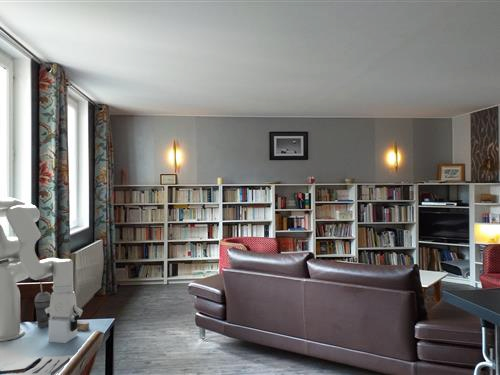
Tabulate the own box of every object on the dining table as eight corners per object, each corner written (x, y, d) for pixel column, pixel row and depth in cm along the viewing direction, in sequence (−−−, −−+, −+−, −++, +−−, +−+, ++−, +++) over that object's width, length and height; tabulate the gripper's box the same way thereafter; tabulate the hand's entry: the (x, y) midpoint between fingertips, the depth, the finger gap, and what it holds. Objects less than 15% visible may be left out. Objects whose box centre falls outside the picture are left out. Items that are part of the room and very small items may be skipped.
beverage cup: (44, 328, 172) (44, 284, 172) (30, 327, 174) (30, 283, 174) (55, 323, 179) (55, 280, 179) (42, 322, 181) (41, 280, 181)
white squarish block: (48, 341, 157) (48, 320, 157) (61, 334, 165) (61, 314, 165) (65, 342, 156) (65, 321, 156) (77, 335, 163) (77, 315, 163)
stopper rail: (66, 329, 171) (66, 322, 171) (69, 327, 173) (69, 321, 173) (86, 330, 169) (86, 324, 169) (89, 329, 171) (89, 322, 171)
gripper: (39, 290, 159) (39, 331, 159) (75, 292, 155) (76, 334, 155) (51, 285, 166) (52, 325, 166) (87, 287, 163) (87, 327, 163)
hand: (63, 329), depth 161 cm, fingers open, 9 cm apart
